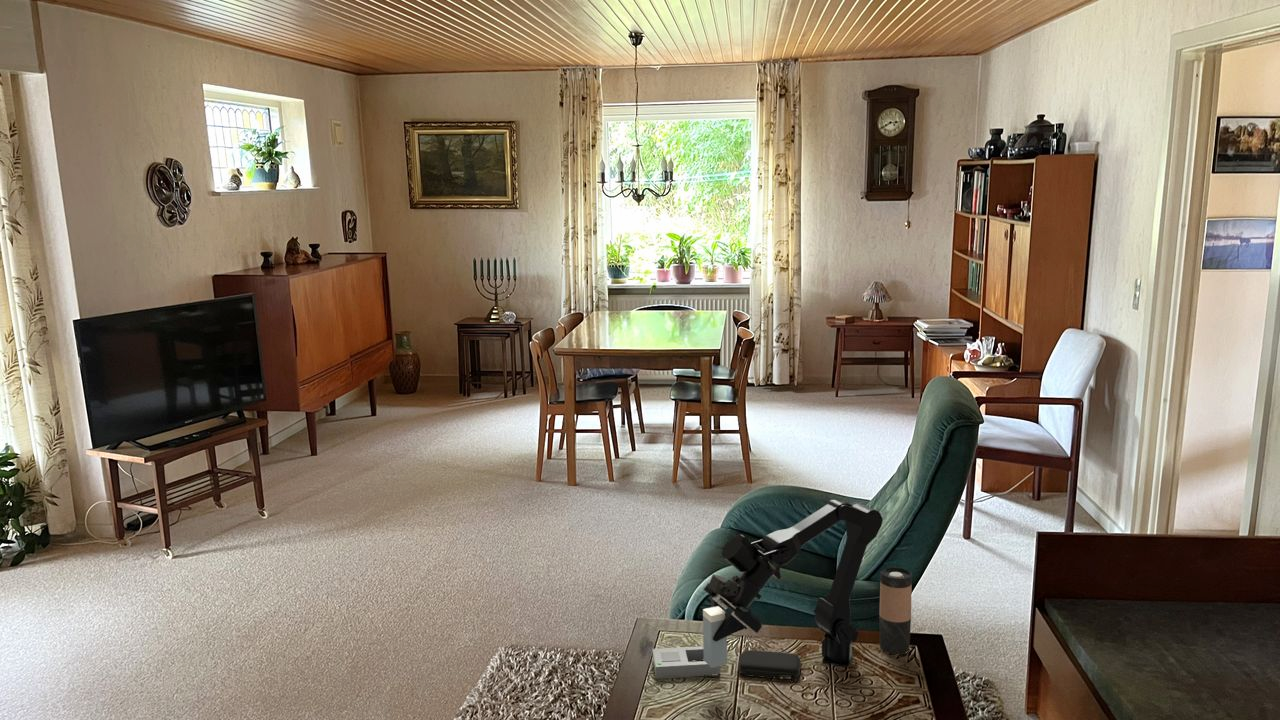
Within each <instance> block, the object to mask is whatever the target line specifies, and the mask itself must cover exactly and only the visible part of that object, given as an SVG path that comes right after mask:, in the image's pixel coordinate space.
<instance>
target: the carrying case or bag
mask: <svg viewBox="0 0 1280 720" xmlns="http://www.w3.org/2000/svg"><path fill="white" fill-rule="evenodd" d="M801 663H802V662H801V658H800V657H799V656H798V655H797V654H794V653H791V652H780V651H779V652H778V651H768V650H766V651H765V650H753V649H752V650H751V649H748V650H747V649H746V650H744V651H743V652H742V653H741V654H740V656H739V661H738V665H737V670H738V672H740V674H741V673H742V674H741V675H743V674H744V675H743V676H746V675H753V676H752V677H756V676H764V677H763V678H767V677H775V678H774V679H779V680H795V679H797V678H798V677H799V676H800V674H801V667H802V666H801V665H802V664H801Z"/></svg>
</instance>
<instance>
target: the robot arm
mask: <svg viewBox="0 0 1280 720" xmlns="http://www.w3.org/2000/svg"><path fill="white" fill-rule="evenodd" d="M883 520H884V519H883V516H882V514H881V513H880V511H878V510H877V509H874V508H873V507H869V506H868V505H865V504H863V503H862V502H861V503H859V502H858V503H854V504H851V503H848V502H843V501H840V500H838V499H830V500H829V501H828V502H827V503H826V504H825V505H824V506H823V507H821V508H819V509H818V510H816V511H815V512H812V514H809V515H808V516H807V517H805V518H804V519H803V520H801V521H799V522H797V523H795V524H794V525H793V526H791V527H788V528H785V529H778V530H775V531H773V532H770V533H769V534H766V535H765V536H764V537H762V539H759V540H756V541H753V542H751V541H750V540H749V539H748V538H747V537H746V536H745V535H743V534H739V536H737V537H734V538H732V539H730V540H729V541H727V542H726V543H725V544H724V545H723V547H722V551H721V556H722V558H724V560H725V561H727V563H729V564H730V565H731V566H732V567H733V568H735V569H736V570H737V571H738V572H740V573H741V574H740V576H738V575H734V576H732V578H731V579H730V578H727V577H724V576H721V575H718V574H717V575H716V574H712V575H711V579H710V580H709V582H708V583H707V584H706V585H705V587H704V588H703V591H705V592H706V593H707V594H708V595H709V600H710V605H711V606H710V608H711V607H716V606H719V607H720V608H721V609H723V610H724V611H725V620H724V621H723V623H722V624H721V626H720V627H719V629H718V630H717V632H716V633H715V635H714V637H713V640H714V641H715V642H717V641H719V640H721V639H723V638H725V637H727V638H728V637H730V636H731V635H733V634H735V633H737V632H740V631H742V630H748V627H749V628H750V630H752V631H753V632H754V633H756V634H758V633H759V632H760V630H761V629H762V628H763V620H761V619H759V618H758V616H756V615H755V614H754V613H753V612H751V609H750V608H749V607H750V606H751V604H752V603H753V602H754V600H755V599H757V600H760V599H761V598H762V595H761V594H760V593H761V591H762V590H763V589H764V587H765V586H766V584H767V583H768V582H769V581H770V579H771V578H772V577H774V578H776V579H778V580H780V579H781V576H782V575H781V572H780V570H781V567H780V566H785V565H788V563H790V562H791V561H793V559H794V558H795V557H796V556H798V554H799V552H800V551H801V549H802V547H803V546H804V545H806V544H807V543H808V542H810V541H811V540H813V539H815V538H816V537H818V536H819V535H821V534H822V533H825V531H827V530H828V529H830V528H831V527H833V526H835V525H836V524H838V523H839V522H841V521H845V525H844V526H845V532H846V540H845V544H844V547H843V550H842V553H841V556H840V560H839V562H838V565H837V569H836V572H835V575H834V578H833V581H832V584H831V587H830V591H829V593H828V594H827V595H826V596H824V597H820V596H818V598H817V602H816V606H815V608H814V610H813V613H814V616H813V617H814V618H813V619H814V621H815V623H816V626H818V627H819V629H820V631H822V632H823V633H825V634H824V637H823V639H822V640H821V657H823V658H822V660H821V662H822V661H823V662H822V663H826V664H831V665H835V666H841V667H849V666H850V665H851V662H852V660H853V657H854V653H853V643H854V642H856V641H857V640H858V636H859V631H857V629H855V628H854V627H853V626H852V625H851V623H850V622H851V616H852V611H851V606H850V605H851V604H850V600H851V595H852V593H853V590H854V587H855V583H856V581H857V577H858V574H859V571H860V569H861V566H862V565H861V564H862V562H863V559H864V556H865V553H866V550H867V546H868V545H869V544H870V543H871V542H872V541H873V540H874V539H876V538H877V536H878V533H879V532H880V529H881V528H882V525H883ZM771 563H774V564H771ZM778 565H780V566H778ZM727 609H730V611H732V613H730V612H729V611H728V610H727ZM747 626H748V627H747Z"/></svg>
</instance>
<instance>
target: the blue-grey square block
mask: <svg viewBox="0 0 1280 720" xmlns="http://www.w3.org/2000/svg"><path fill="white" fill-rule="evenodd" d="M724 620H725V611H724V610H723V609H721V608H720V607H719V606H716V607H711V606H710V607H707V608H703V609H702V629H703V630H702V631H703V632H702V634H703V635H702V637H703V639H702V642H703V644H702V645H703V653H704V660H703V661H705V662H706V663H707V664H708V665H709V666H710V667H711V668H713V667H717V666H720V667H721V666H725V665H728V640H727V639H728V636H727V637H725V638H723V639H721V640H719V641H717V642H715V641H714V640H713V637H714V635H715V633H716V632H717V630H718V629H719V627H720V626H721V624H722V623H723V621H724Z"/></svg>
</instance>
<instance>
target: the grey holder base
mask: <svg viewBox="0 0 1280 720" xmlns="http://www.w3.org/2000/svg"><path fill="white" fill-rule="evenodd" d="M702 659H704V653H703V646H701V645H700V646H683V647H682V646H681V647H665V648H664V647H663V648H652V663H653V668H654V669H653V670H654V675H655V679H660V680H661V679H675V678H692V677H705V676H704V675H712V674H720V675H721V666H717V667H713V668H711V667H710V666H709V665H708V664H707V663H706V662H705V661H704V660H703V661H693V660H702Z"/></svg>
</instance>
